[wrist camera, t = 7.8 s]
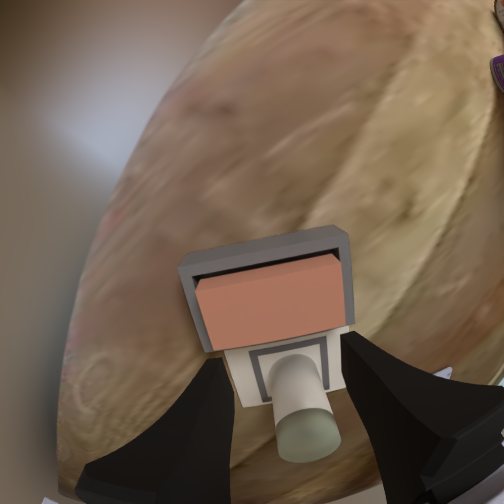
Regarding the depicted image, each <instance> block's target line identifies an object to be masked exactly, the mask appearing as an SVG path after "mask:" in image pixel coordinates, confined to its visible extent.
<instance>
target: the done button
mask: <svg viewBox="0 0 504 504" xmlns="http://www.w3.org/2000/svg"><path fill="white" fill-rule="evenodd" d="M195 293H196V297H197V300H198V303H199V306H200V310H201V313H202V316H203V319H204V322H205V325H206V329H207V332H208V335H209V338H210V341H211V344H212V347H213V350H214V351H216V350H223V349H230V348H236V347H243V346H249V345H255V344H261V343H266V342H272V341H277V340H282V339H287V338H292V337H297V336H302V335H306V334H311V333H315V332H320V331H324V330H328V329H332V328H336V327H340V326H344V325H346V323H345V305H344V291H343V279H342V268H341V262H340V261H339V260H338V259H337V258H336V257H335V256H334V255H333V254H327V255H322V256H317V257H313V258H308V259H303V260H298V261H293V262H288V263H283V264H278V265H273V266H268V267H263V268H258V269H253V270H248V271H242V272H237V273H232V274H227V275H222V276H216V277H211V278H206V279H200V281H199V284H198V286H197V288H196V290H195Z"/></svg>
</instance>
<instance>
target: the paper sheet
mask: <svg viewBox="0 0 504 504" xmlns="http://www.w3.org/2000/svg"><path fill="white" fill-rule="evenodd" d="M347 332H349V325H348V326H344V327H340V328H336V329H332V330H328V331H324V332H319V333H315V334H311V335H306V336H301V337H297V338H292V339H287V340H282V341H277V342H271V343H266V344H260V345H255V346H249V347H242V348H236V349H229V350H224V353H225V357H226V360H227V363H228V366H229V369H230V372H231V375H232V378H233V381H234V383H235V386H236V389H237V392H238V395H239V398H240V401H241V403H242V406H243V407H251V406H259V405H265V404H272V395H271V386H270V378H269V371H270V369H271V367H272V365H273V364H274V363H275V362H276V361H277V360H279V359H280V358H282V357H285V356H288V355H292V354H302V355H305V356H308V357H310V358H311V359H312V360H313V361H314V362H315V364H316V367H317V370H318V373H319V375H320V378H321V381H322V384H323V387H324V390H325V393H326V392H330V391H334V390H338V389H342V388H345V387H346V385H345V382H344V379H343V376H342V373H341V348H340V334H344V333H347Z"/></svg>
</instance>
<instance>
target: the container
mask: <svg viewBox="0 0 504 504" xmlns="http://www.w3.org/2000/svg"><path fill="white" fill-rule="evenodd" d="M490 68H491V72H492V75H493V78H494V80H495V82H496V84H497V86H498V87H499V89H500V90H501V91H502V92H503V93H504V55H501V56H498V57H495V58H492V59H491V60H490Z"/></svg>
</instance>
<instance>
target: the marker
mask: <svg viewBox="0 0 504 504" xmlns="http://www.w3.org/2000/svg"><path fill="white" fill-rule="evenodd" d="M269 378H270V386H271V395H272V403H273V412H274V420H275V429H276V437H277V446H278V454H279V456H280V457H281V458H282V459H284V460H286V461H289V462H297V463H301V462H310V461H314V460H318V459H321V458H323V457H325V456H327V455H329V454H331V453H332V452H333V451H335V450H336V449H337V448H338V447H339V445H340V443H341V438H340V435H339V431H338V428H337V425H336V422H335V419H334V416H333V413H332V410H331V408H330V405H329V402H328V399H327V396H326V393H325V390H324V387H323V384H322V381H321V378H320V375H319V373H318V370H317V367H316V364H315V362H314V361H313V360H312V359H311V358H310V357H308V356H305V355H302V354H292V355H288V356H285V357H282V358H280V359H279V360H277V361H276V362H275V363H274V364H273V365H272V367H271V369H270V371H269Z"/></svg>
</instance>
